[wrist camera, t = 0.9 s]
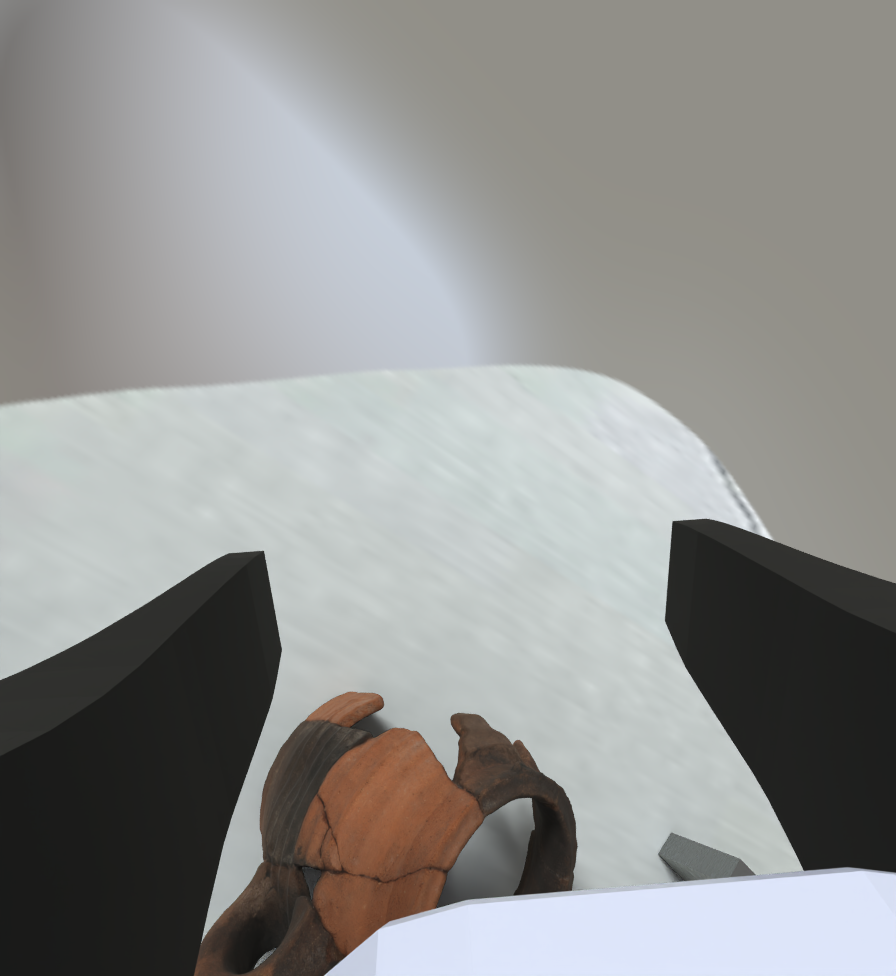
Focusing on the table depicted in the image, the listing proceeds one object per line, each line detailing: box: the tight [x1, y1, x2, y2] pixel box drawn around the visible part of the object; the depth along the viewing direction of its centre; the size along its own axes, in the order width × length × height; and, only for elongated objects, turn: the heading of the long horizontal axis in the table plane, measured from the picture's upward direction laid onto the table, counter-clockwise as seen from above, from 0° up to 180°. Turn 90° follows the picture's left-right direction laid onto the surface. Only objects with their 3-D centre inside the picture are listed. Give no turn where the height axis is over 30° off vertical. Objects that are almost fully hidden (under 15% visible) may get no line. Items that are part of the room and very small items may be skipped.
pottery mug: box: [194, 692, 578, 976], centre depth 20 cm, size 12×10×8 cm
